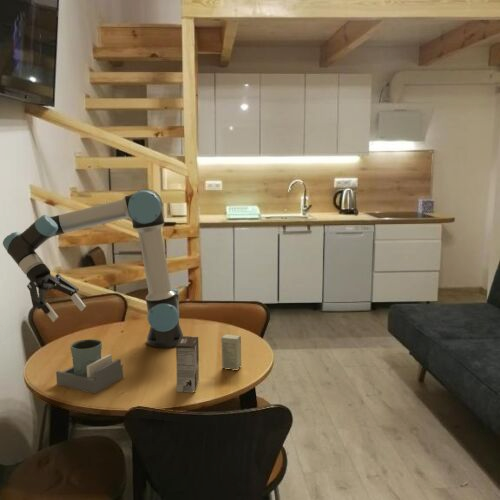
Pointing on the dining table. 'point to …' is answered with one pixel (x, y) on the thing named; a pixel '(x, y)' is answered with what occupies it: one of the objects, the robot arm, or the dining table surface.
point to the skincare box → (231, 351)
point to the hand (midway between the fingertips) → (70, 314)
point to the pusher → (98, 365)
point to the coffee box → (187, 364)
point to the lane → (100, 381)
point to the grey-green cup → (85, 355)
